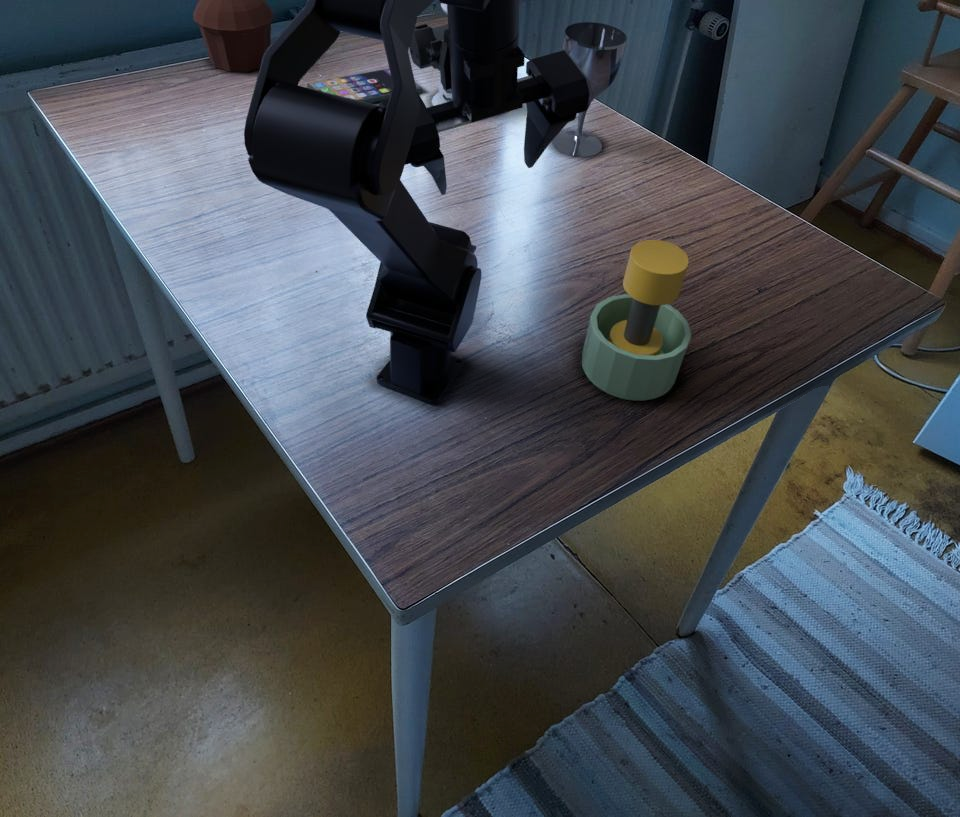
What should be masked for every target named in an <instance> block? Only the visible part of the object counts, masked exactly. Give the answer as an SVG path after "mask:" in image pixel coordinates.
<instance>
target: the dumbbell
mask: <svg viewBox="0 0 960 817" xmlns="http://www.w3.org/2000/svg"><path fill="white" fill-rule="evenodd" d="M627 260H628V261H627V264H626V268H625V273H624V276H623V280H622V286H623V289H624V291H625V293H626V294H628V295H630V296H631V297H632V298H633V301H632V305H631V308H630V312H629V316H628V319H627V320H625V321H621V322H618V323H617V324H615V325H614V326H613V327H612V329H611V331H610V335H609V339H608V341H609V342H611V343H612V344H614V345H615V346H617V347H618V348H620V349H622V350H625V351H628V352H631V353H634V354H638V355H651V356H656V355H660V352H661V348H662V345H663V338H662V335H661V334H660V332H659V331H658V330H657V329H656V328H655V327H654V325H655V322H656V318H657V315H658V312H659V309H660V305H666V304H668V305H670V304H671V303H673V302H674V301H676V300H677V299H678V297H679V296H680V293H681V289H682V287H683V283H684V280H685V277H686V274H687V271H688V269H689V265H690V259H689V257H688V254H687V253H686V252H685V251H684V250H683V249H682V248H681V247H679V246H678V245H676V244H674V243H671V242H668V241H665V240H659V239H645V240H641V241H639V242H636V243H635V244H634V245H633V246H632V247H631V249H630V252H629V256H628V259H627Z"/></svg>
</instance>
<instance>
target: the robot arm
mask: <svg viewBox="0 0 960 817" xmlns="http://www.w3.org/2000/svg"><path fill="white" fill-rule="evenodd" d="M435 1H436V0H307V1H306V4H305V5H304V6H303V8H302V9H301V10H300V11H299V12H298V14H296V15H295V17H294V18H292V20H291V21H290V22H289V23H288V24H287V25H286V27H285V28H283V30H282V31H281V32H280V33H279V34H278V35H277V37H276V38H275V39H274V40H273V41H272V42H271V43H270V46H269V47H268V48H267V49H266V51H265V53H264V55H263V58H262V62H261V66H260V68H259V69H258V74H257V78H256V82H255V85H254V87H253V88H254V89H253V92H252V96H251V99H250V103H249V108H248V110H247V115H246V118H245V124H244V130H243V137H244V138H243V139H244V140H243V141H244V147H245V150H246V153H247V155H248V159H247V162H248V164H249V167H250V169H251V171H252V173H253V174H254V176H255V177H256V179H257V180H258V181H259V182H260V183H262V184H264V185H265V186H268V187H270V188H273V189H275V190H277V191H279V192H281V193H284V194H286V195H288V196H291V197H294V198H297V199H300V200H303V201H305V202H307V203H311V204H313V205H316V206H319V207H321V208H325V209H327V210H329V211H330V213H331V214H333V216H335V218H336V219H338V221H340V223H342V224H343V225H344V226H345V228H346V229H348V231H349V232H350V233H352V235H354V237H355V238H356V239H357V240H358V241H360V243H361V244H362V245H363V246H365V247H366V248H367V250H369V252H370V253H371V254H372V255H373V256H374V257H375V258H376V259H377V260H378V261H379V262H380V263H379V267H378V271H377V275H376V278H375V283H374V288H373V291H372V294H371V298H370V301H369V303H368V308H367V310H366V314H365V316H366V317H365V318H366V320H367V323H368V326H369V328H372V329H379V330H382V331H385V332H388V333H390V337H389V361H388V362H387V363H386V364H385V365H384V367H383V368H382V369H381V370H380V372H378V374H377V376H376V383H377V384H378V385H381V386H383V387H386V388H388V389H392V390H394V391H397V392H398V393H402V394H405V395H407V396H410V397H412V398H415V399H418V400H420V401H423V402H424V403H425V402H426V403H428V404H430V405H435V404H438V403H439V401H440V400H441V399H442V397H443V396H444V394H445V393H446V391H447V390H448V388H449V387H450V386H451V384H452V383H453V382H454V380H455V378H456V377H457V376H458V374H459V373H460V371H462V368H463V367H464V360H463V359H461V358H459V357H456V356H453V355H452V353H454V354H456V352H457V351H458V348H459V347H460V345H461V343H462V342H463V340H464V339H465V336H466V335H467V333H468V331H469V330H470V328H471V326H472V325H473V322H474V317H475V313H476V306H477V302H478V298H479V293H480V288H481V281H482V269H481V268H480V267H479V265H478V264H479V263H478V258H477V255H476V254H475V252H476V250H477V245H474V244H472V240H471V237H470V236H469V235H468V233H467V232H466V231H464V230H461V229H457V228H454V227H450V226H446V225H442V224H439V223H434V222H432V221H428V219H427V217H426V216H425V214H424V213H423V212H422V210H421V209H420V207H419V206H418V204H417V203H416V201H415V200H414V198H413V197H412V195H411V193H410V192H409V190H408V189H407V187H406V186H405V185H404V183H403V182H402V181H401V178H402V176H403V172H404V168H405V166H407V165H409V164H410V166H412V168H413V167H414V168H420V167H424V168H425V170H426V171H427V172H428V173H429V174H430V176H431V177H432V179H433V181H434V183H435V185H436V187H437V189H438V191H439V192H440V195H442V196H443V195H446V194H447V186H448V184H447V173H446V165H445V164H446V162H445V156H444V154H443V152H442V150H441V149H440V148H441V141H440V140H441V139H440V138H441V137H440V135H439V133H443V132H447V131H450V130H454V129H456V128H460V127H463V126H466V125H467V126H468V125H470V124H473V123H477V122H480V121H483V120H484V121H485V120H487V119H490V118H494V117H497V116H501V115H503V114H506V113H509V112H513V111H516V110H520V109H523V108H524V105H525V106H526V117H525V118H526V119H525V128H524V129H525V130H524V143H523V161H524V163H525V165H526V167H527V168H528V169H531V168H533V167H534V166H535V164H536V163H537V162H538V160H539V159H540V157H541V156H542V155H543V153H544V152H545V150H546V149H547V148H548V147H549V145H550V144H552V140H553V139H554V138H555V137H556V136H557V135H558V134H559V133H561V131H562V130H563V129H564V128H565V127H566V125H568V124H569V123H571V122H573V121H575V120H576V119H577V117H578V116H577V114H579V113H581V112H584V111H587V112H588V110H589V108H590V106H591V103H592V102H591V94H592V88H591V84H590V80H589V79H588V78H587V76H586V75H585V74H584V72H583V71H582V70H581V69H580V67H579V66H578V65H577V63H576V62H575V61H574V59H573V58H572V57H571V55H569V54H568V53H567V52H566V51H565V50H563V49H562V50H563V51H562V50H559V51H555V52H552V53H549V54H545V55H542V56H538V57H535V58H531V59H529V60H527V61H526V64H525V55H526V54H525V53H524V51H523V50H522V49H521V48H520V46H519V40H520V39H519V38H520V36H519V35H520V33H519V32H520V30H519V29H520V0H438V1H439V3H440V4H441V3H443V4H447V14H446V15H447V24H442V25H438V26H436V27H435V26H434V27H431V26H429V25H428V24H427V23H423V24H419V25H416V24H417V20H418V17H419V16H420V15H421V14H422V13H423V12H424V11H425V10H426V9H428V8H429V6H431V4H433V3H434V2H435ZM341 32H342V33H346V34H351V35H355V36H359V37H364V38H368V39H372V40H377V41H382V42H383V47H384V52H385V55H386V61H387V63H388V69H390V74H391V78H392V83H393V87H392V91H391V94H390V98H389V99H386V100H381V101H379V104H374V103H367V102H363V101H359V100H355V99H351V98H347V97H343V96H339V95H334V94H330V93H326V92H322V91H318V90H314V89H310V88H307V86H302V85H299V84H300V81H301V80H302V79H303V78H304V76H305V75H306V74H307V73H308V72H309V71H310V70H311V69H312V68H313V67H314V65H315V64H316V63H317V62H318V61H319V60H320V59H321V58H322V57H323V56H324V55H325V54H326V52H327V51H328V50H329V49H330V48H331V47H332V45H333V44H334V43H336V41H337V40H338V38H339V36H340V34H341ZM409 53H410V54H409ZM411 61H412V62H411ZM412 63H413V64H414V65H415V66H416V67H418V68H419V69H420V70H422V69H426V68H430V67H432V68H433V69H434V70H436V69H437V70H438V71H439V74H440V78H441V84H442V85H443V87H444V89H445V90H449V89H451V90H452V101H449V102H446V103H442V104H439V105H435V106H433V105H432V106H428V107H427V106H426V104H425V102H424V101H423V99H422V97H421V95H420V93H418V92H417V89H416V84H417V83H416V81H415V76H414V72H413V66H412ZM524 66H525V73H526V76H522V77H519V78H518V74H519V73H518V70H519V69H518V68H521V67H524ZM415 83H416V84H415ZM590 102H591V103H590Z"/></svg>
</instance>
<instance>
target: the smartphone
mask: <svg viewBox="0 0 960 817" xmlns="http://www.w3.org/2000/svg"><path fill="white" fill-rule="evenodd" d="M415 84H416V89H417V92H418V94H420V93H423V89H424V88H423V87H422V86H420V85H419V84H418V83H416V82H415ZM392 87H393V83H392V78H391V74H390V69H389V68H383V69H379V70H373V71H366V72H362V73H356V74H351V75H346V76H345V75H344V76H340V77H335V78H329V79H323V80H318V81H312V82H308V83H306V88H310V89H314V90H318V91H322V92H326V93H330V94H334V95H339V96H343V97H347V98H351V99H355V100H359V101H363V102H367V103H371V104H373V103H376V102H381V101H385V100H388V99H389V98H390V94H391V91H392Z"/></svg>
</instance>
